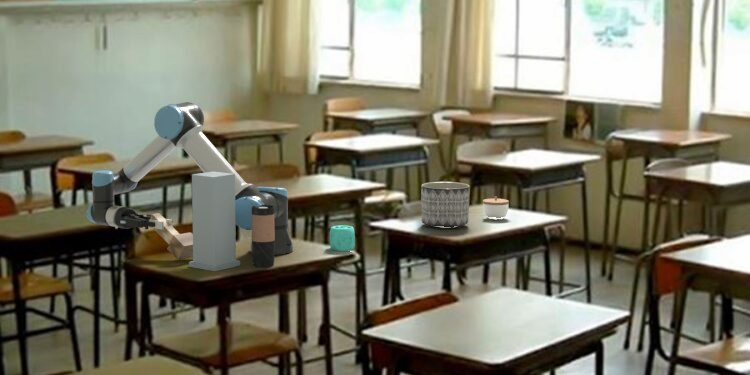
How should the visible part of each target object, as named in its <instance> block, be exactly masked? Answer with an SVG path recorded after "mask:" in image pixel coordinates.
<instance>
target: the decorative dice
mask: <svg viewBox="0 0 750 375" xmlns="http://www.w3.org/2000/svg"><path fill="white" fill-rule="evenodd" d="M355 234H356V233H355V228H354V227H353V225H352V226H351V225H346V224H344V225H340V224H339V225H334V226H331V227H330V229H329V244H330V250H332V251H334V252H335V251H336V252H348V251H353V250H354V249H355V245H356V235H355Z"/></svg>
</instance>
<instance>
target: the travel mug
mask: <svg viewBox="0 0 750 375" xmlns="http://www.w3.org/2000/svg"><path fill="white" fill-rule="evenodd" d="M251 241H252V252H251V257H252V266H253V267H255V268H271V267H273V266H275V255H274V244H275V234H274V206H272V205H261V206H259V207H255V206H252V230H251Z"/></svg>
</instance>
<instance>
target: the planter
mask: <svg viewBox="0 0 750 375" xmlns="http://www.w3.org/2000/svg"><path fill="white" fill-rule="evenodd" d="M420 187H421V189H420V190H421V191H420V192H421V193H420V194H421V199H420V200H421V201H420V202H421V222H422V224H424V225H426V224H427V225H426V226H431V225H432V226H444V227H454V226H458V227H461V226H462V227H463V226H466V225H467V224H468V223H469V214H470V212H469V211H470V209H469V208H470V191H471V190H470V189H471V186H470V185H469V184H467V183H462V182H453V181H433V182H432V181H431V182H425V183H422V184H421V186H420ZM432 226H431V227H432Z"/></svg>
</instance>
